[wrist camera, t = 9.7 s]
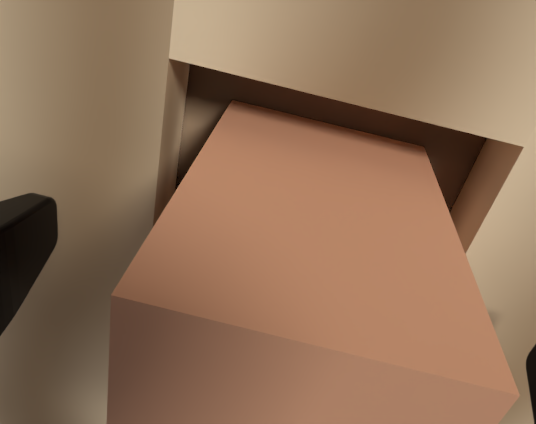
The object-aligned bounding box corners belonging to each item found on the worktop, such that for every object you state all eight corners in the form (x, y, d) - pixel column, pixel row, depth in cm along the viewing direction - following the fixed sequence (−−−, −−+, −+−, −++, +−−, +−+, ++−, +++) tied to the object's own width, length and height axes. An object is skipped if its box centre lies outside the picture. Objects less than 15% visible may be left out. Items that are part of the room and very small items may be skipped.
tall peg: (206, 253, 12) (104, 504, 7) (232, 99, 10) (111, 295, 4) (363, 291, 12) (381, 573, 7) (423, 146, 10) (519, 396, 4)
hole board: (29, 385, 15) (0, 426, 14) (-62, -531, 6) (-174, -658, 5) (446, 490, 15) (456, 541, 14) (1035, -258, 6) (1232, -311, 5)
